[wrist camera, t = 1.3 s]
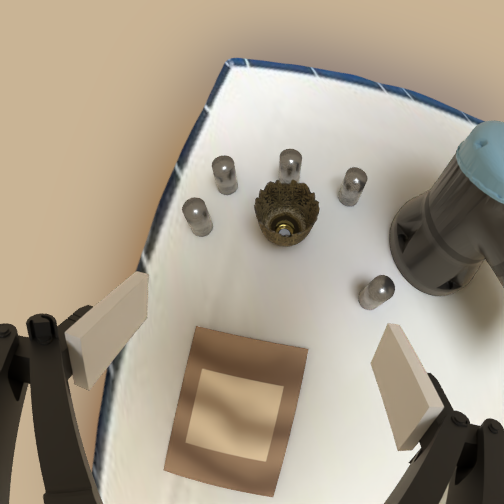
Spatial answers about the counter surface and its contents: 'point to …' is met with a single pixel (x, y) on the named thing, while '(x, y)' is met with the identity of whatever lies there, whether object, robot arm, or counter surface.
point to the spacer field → (288, 170)
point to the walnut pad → (235, 411)
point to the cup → (286, 211)
